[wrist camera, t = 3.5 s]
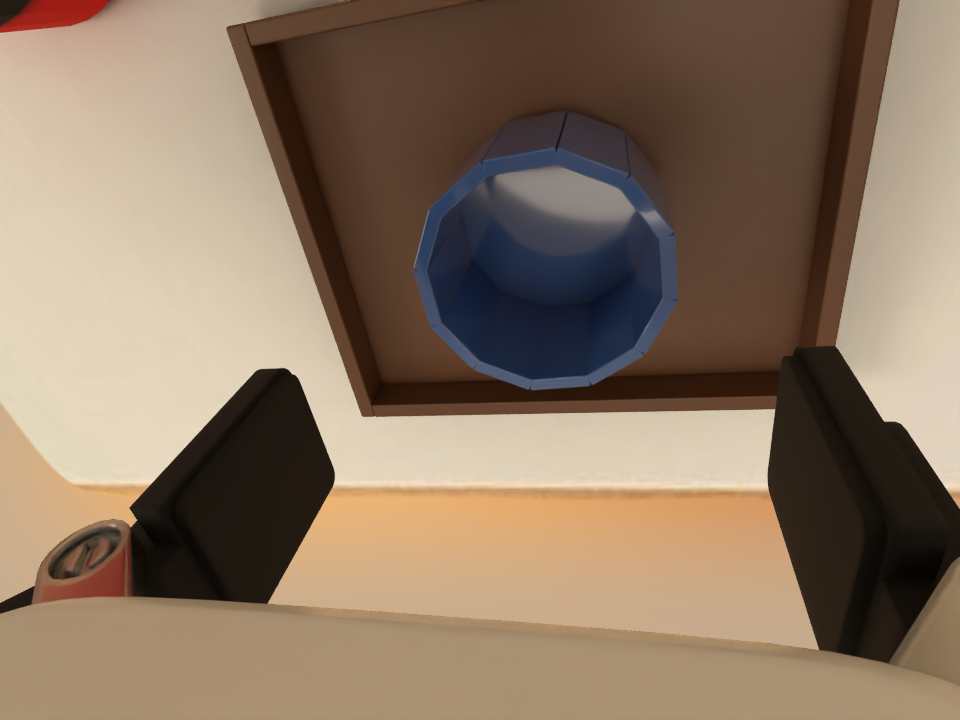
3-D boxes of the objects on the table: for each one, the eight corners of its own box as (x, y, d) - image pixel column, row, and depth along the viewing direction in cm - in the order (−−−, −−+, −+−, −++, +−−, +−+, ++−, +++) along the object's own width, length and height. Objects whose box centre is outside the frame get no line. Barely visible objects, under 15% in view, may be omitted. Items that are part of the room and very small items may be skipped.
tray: (377, 388, 25) (361, 417, 24) (259, 22, 18) (224, 27, 16) (807, 375, 21) (824, 408, 20) (886, -110, 14) (923, -121, 12)
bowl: (416, 204, 20) (366, 264, 16) (574, 57, 16) (563, 84, 12) (541, 340, 22) (526, 424, 18) (703, 234, 19) (731, 306, 15)
